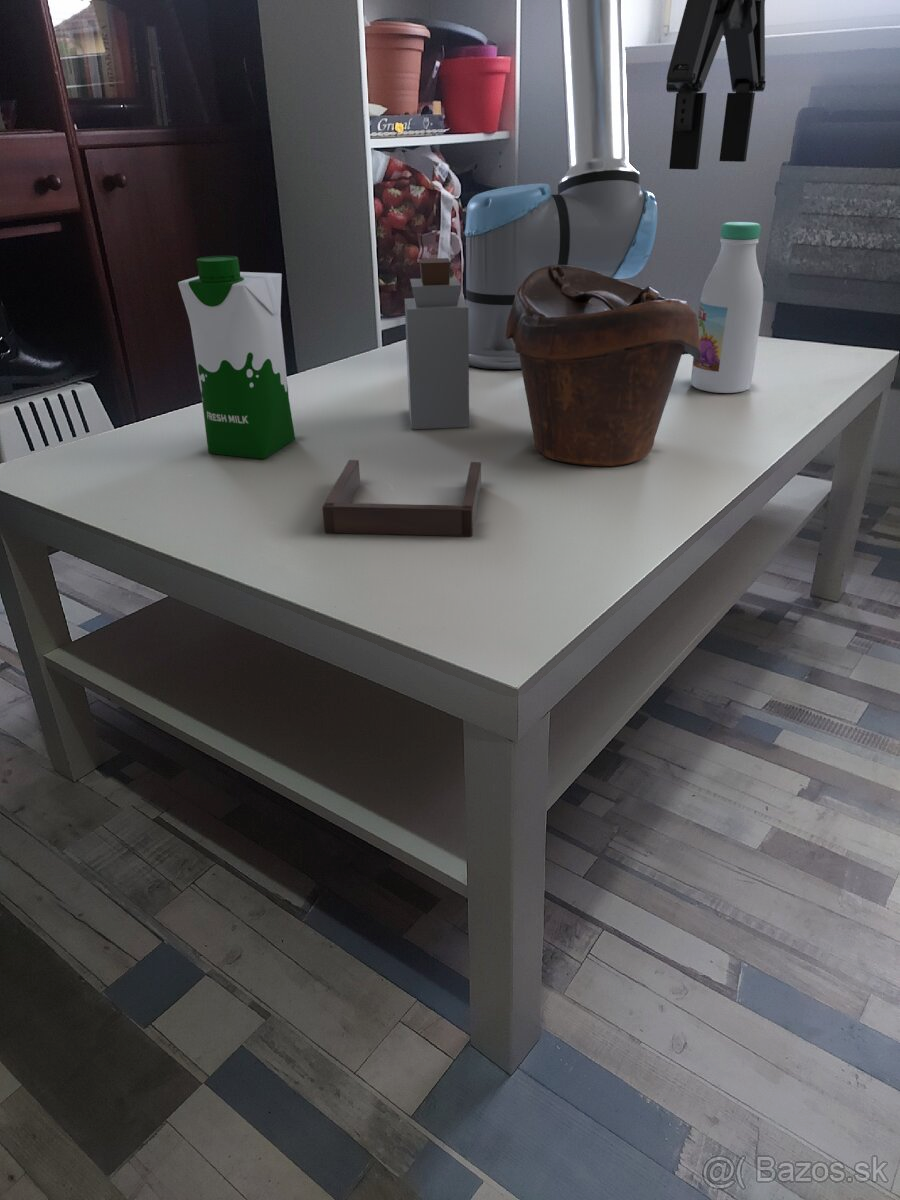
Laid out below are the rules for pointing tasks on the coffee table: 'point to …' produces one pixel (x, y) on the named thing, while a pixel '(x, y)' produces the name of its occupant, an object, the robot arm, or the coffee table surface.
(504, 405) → the coffee table surface
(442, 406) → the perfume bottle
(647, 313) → the case
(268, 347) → the milk carton
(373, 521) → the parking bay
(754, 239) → the milk bottle
